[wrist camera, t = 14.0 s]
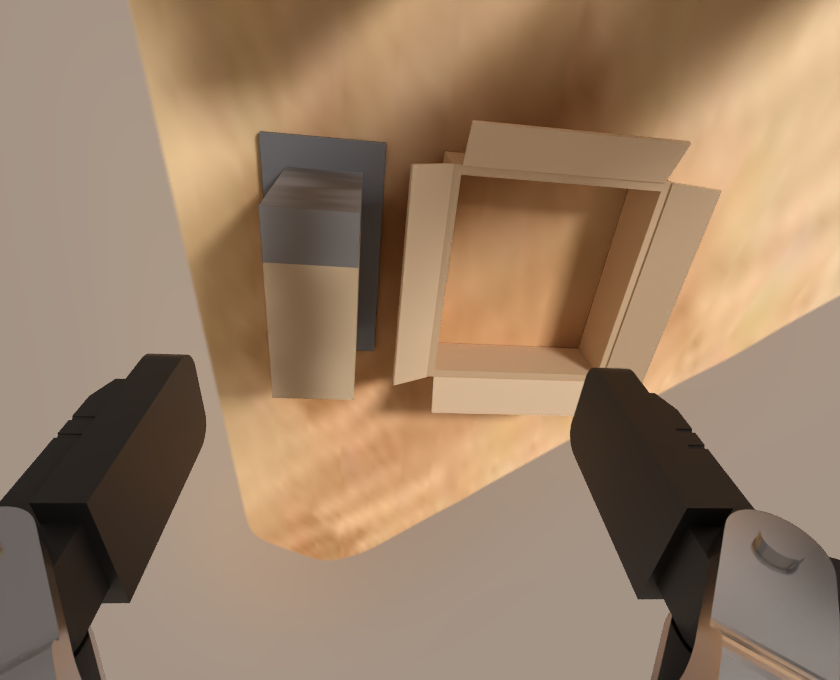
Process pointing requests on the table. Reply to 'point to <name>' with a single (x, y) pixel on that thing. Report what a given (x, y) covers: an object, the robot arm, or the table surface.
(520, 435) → the table surface
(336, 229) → the beige and gray box
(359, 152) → the mat
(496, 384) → the carton
